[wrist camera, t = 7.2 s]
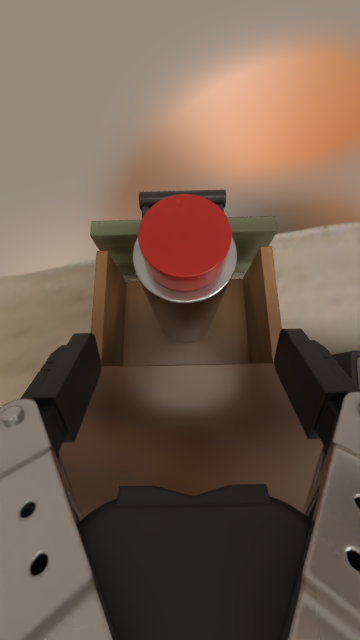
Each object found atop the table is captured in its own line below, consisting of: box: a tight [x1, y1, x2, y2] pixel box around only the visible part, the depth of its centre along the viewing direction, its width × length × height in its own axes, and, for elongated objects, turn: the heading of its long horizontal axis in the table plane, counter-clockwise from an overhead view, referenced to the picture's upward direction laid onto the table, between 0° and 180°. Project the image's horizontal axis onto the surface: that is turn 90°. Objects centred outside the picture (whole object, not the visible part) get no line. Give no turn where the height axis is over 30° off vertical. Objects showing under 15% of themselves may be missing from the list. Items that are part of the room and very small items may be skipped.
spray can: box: [133, 194, 237, 343], centre depth 16 cm, size 5×5×12 cm
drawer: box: [90, 190, 282, 366], centre depth 20 cm, size 18×13×7 cm
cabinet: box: [59, 363, 323, 517], centre depth 17 cm, size 15×14×8 cm
